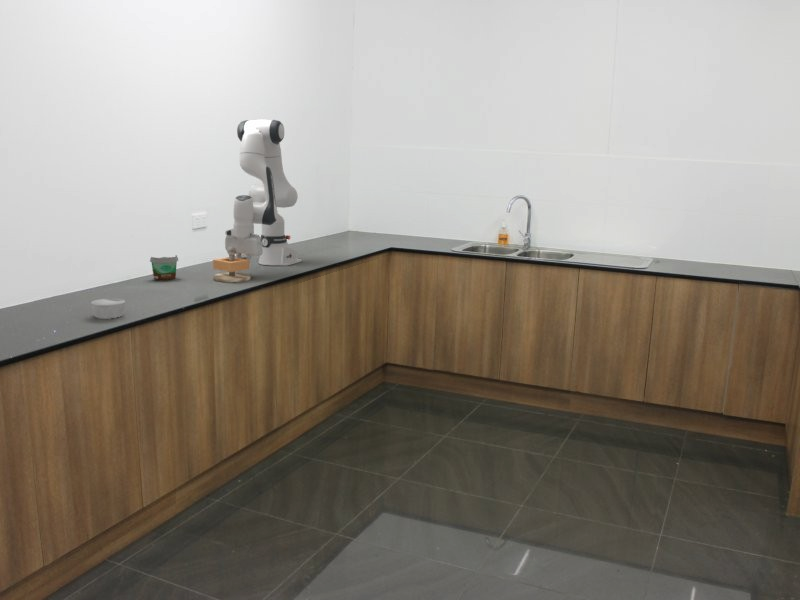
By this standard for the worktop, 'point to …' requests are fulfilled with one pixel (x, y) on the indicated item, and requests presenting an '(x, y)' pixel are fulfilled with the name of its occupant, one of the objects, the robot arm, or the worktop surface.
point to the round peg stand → (232, 276)
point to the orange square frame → (231, 264)
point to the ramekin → (108, 308)
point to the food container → (164, 268)
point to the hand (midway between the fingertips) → (244, 263)
